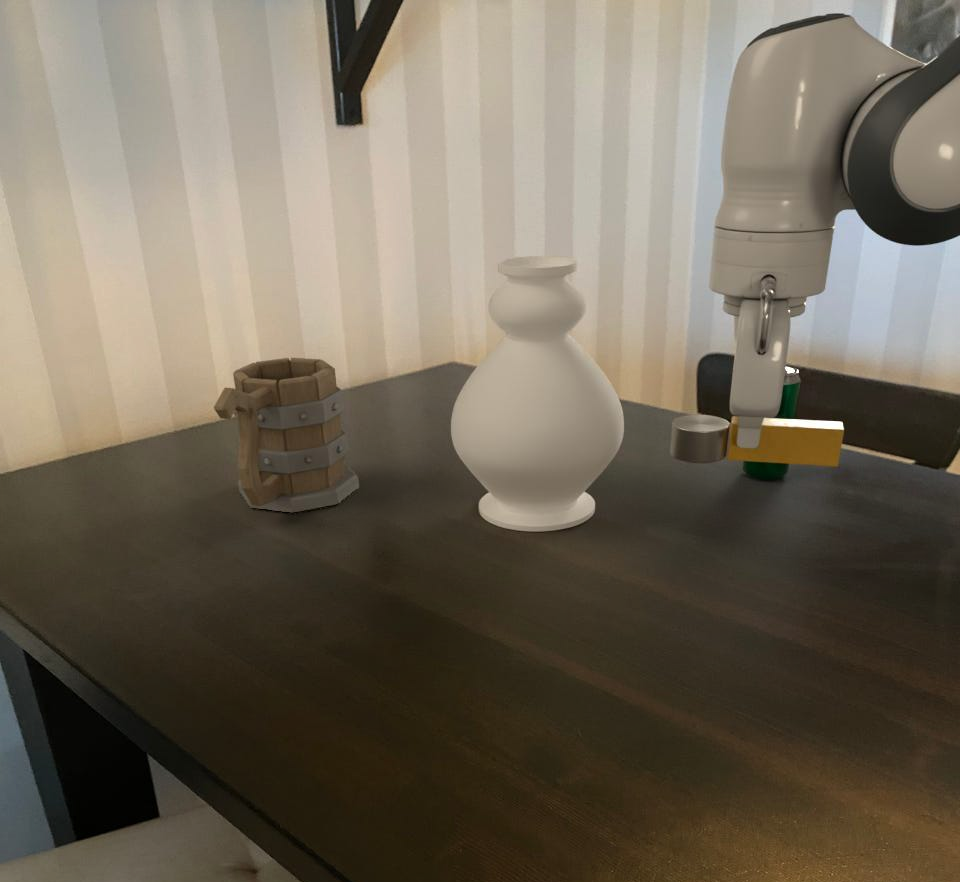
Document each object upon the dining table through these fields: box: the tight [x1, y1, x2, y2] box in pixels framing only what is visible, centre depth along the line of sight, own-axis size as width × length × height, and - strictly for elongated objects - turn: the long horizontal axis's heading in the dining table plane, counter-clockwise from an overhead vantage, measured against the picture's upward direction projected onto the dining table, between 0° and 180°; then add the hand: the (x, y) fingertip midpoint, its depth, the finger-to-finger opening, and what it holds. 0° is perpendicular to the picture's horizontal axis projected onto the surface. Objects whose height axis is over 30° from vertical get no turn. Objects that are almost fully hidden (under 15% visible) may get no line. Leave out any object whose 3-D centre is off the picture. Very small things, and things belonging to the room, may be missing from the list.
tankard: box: [213, 357, 360, 513], centre depth 100 cm, size 20×13×15 cm, turn 161°
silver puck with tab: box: [669, 414, 845, 467], centre depth 79 cm, size 14×5×3 cm, turn 75°
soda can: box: [742, 365, 802, 482], centre depth 105 cm, size 5×5×12 cm
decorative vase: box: [450, 255, 625, 533], centre depth 94 cm, size 18×18×25 cm
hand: (747, 439), depth 80 cm, fingers closed on silver puck with tab, 2 cm apart
